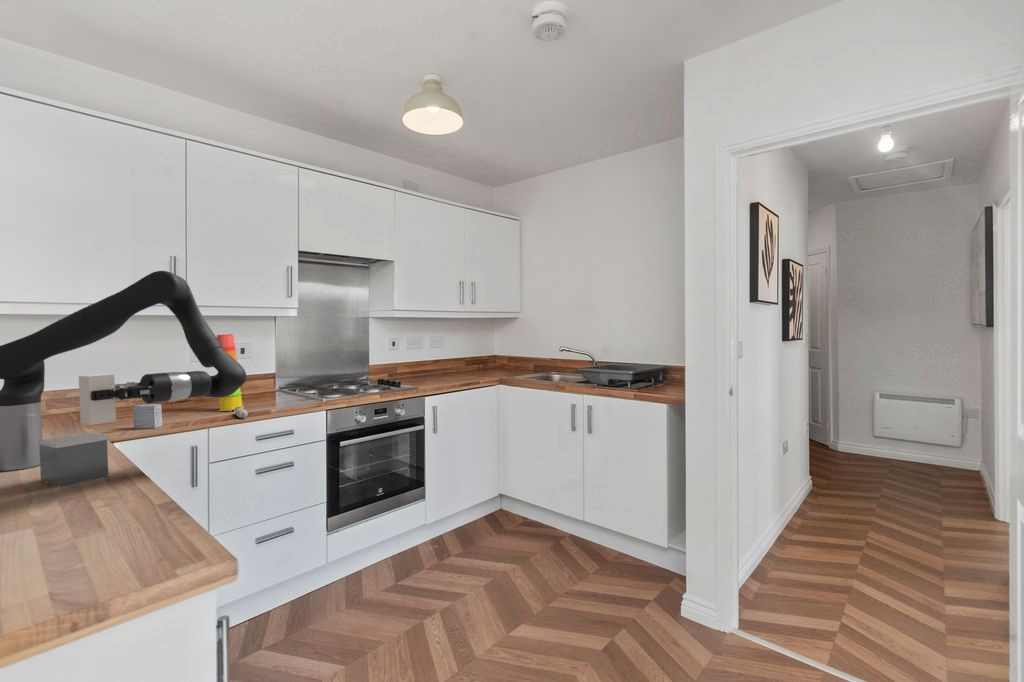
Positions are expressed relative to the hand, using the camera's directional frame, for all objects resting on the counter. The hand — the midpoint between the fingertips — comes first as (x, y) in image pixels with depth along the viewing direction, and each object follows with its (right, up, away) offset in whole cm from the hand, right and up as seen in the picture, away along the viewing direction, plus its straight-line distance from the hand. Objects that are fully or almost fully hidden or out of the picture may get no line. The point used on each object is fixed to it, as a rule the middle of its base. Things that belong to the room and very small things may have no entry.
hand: (86, 395), depth 117 cm
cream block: (+1, -6, +2) cm, 7 cm away
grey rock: (-16, -20, +97) cm, 101 cm away
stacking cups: (-30, -19, +115) cm, 120 cm away
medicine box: (-40, -21, +76) cm, 88 cm away
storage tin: (-11, -22, +10) cm, 26 cm away
